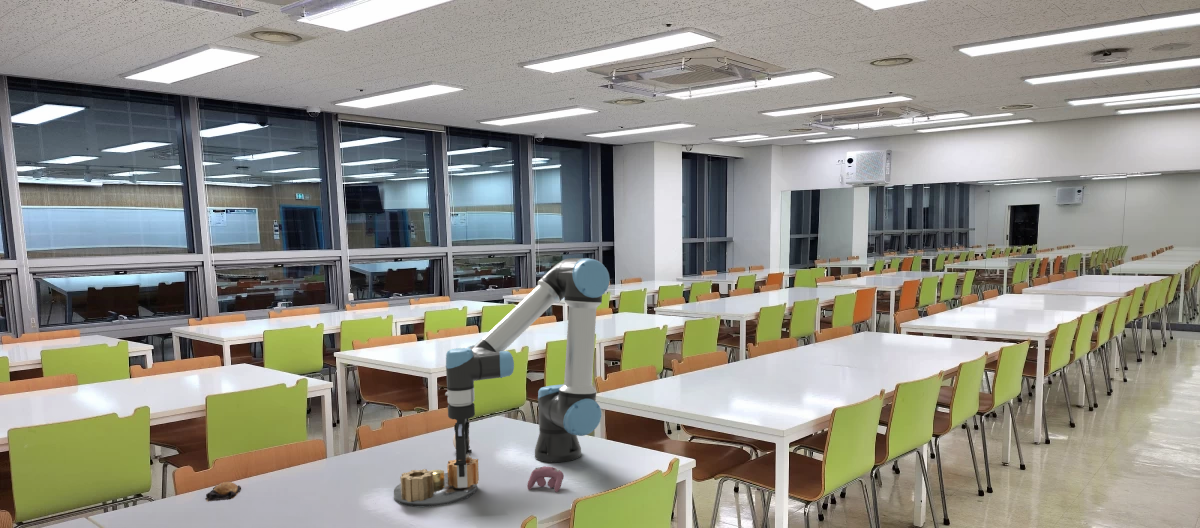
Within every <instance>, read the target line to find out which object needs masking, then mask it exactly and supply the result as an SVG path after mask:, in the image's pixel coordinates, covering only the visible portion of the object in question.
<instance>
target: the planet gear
mask: <svg viewBox="0 0 1200 528" xmlns="http://www.w3.org/2000/svg"><path fill="white" fill-rule="evenodd" d="M454 463H456V458H455V459H453V460H451V459H450V460H448V461H447V464H446V465H447V466H446V467H447V469H446V470H447V473H448V485H449V486H454V488H458V485H457V465H455V466H454ZM466 464H467V483H468V487H470V486H471V485H474V484H477V485H478V484H479V481H480V477H479V459H478V458H472V457H471V456H469V457H467V458H466Z"/></svg>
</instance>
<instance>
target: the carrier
mask: <svg viewBox="0 0 1200 528" xmlns="http://www.w3.org/2000/svg"><path fill="white" fill-rule="evenodd" d="M399 480H400V482H399V484H397V485H396V486H395V487H394V489H393V499H394V501H396V503H399V504H401V505H404V506H410V507H420V508H421V507H422V508H427V507H428V508H429V507H437V506H445V505H450V504H453V503H457V502H460V501H463V500H466V499H467V498H469V497H471V496H472V495H474V494H475V493H476V492H477V489H478V488H477V487H478V486H477V485H478V484H474V485H471V486H470V487H465V488H454V486H449V485H448V472H445V470H443V469H431V470H428V469H425V468H424V469H417V470H416V469H411V470H410V471H407V472H402V473H401V476H400V479H399Z"/></svg>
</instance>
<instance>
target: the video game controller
mask: <svg viewBox="0 0 1200 528" xmlns="http://www.w3.org/2000/svg"><path fill="white" fill-rule="evenodd" d="M564 476H565V475H564V472H562V471H561V470H560V469H558V468H557V467H553V466H541V467H540V466H539V467H535V468H534V470H532V471H531V474H530V476H529V478H528V482H527V484H526V485H527V489H528V490H530V491H531V489H532V488H533V487H534V486H535V484H537V486H538V487H541V488H544V487H545V486H546V484H547V486H548V488H551V489H554V491H555V493H558V492H559V491H560V489H561V487H562V484H563V483H562V482H563V481H564ZM545 478H549V479H548V480H546V479H545ZM546 481H547V482H546ZM532 490H533V489H532Z"/></svg>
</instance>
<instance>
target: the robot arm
mask: <svg viewBox="0 0 1200 528" xmlns="http://www.w3.org/2000/svg"><path fill="white" fill-rule="evenodd" d="M610 281H611V279H610V273H609V271H608V269H607V267H605V265H604V264H603V263H602V262H601V261H599V260H597V259H594V258H588V257H585V258H583V257H582V258H577V257H576V258H575V257H568V258H565V259H563V260H561V261H559V262H558V263H556V264H555V265H554V266H553V267H551V268H550V270H548V271H547V272H546V273H545V274H544V275H543V276H542V277H541V278H540V279H538V281H537V286H536V287H535V288H534V289H533V290H531V292H530V293H528V295H527V296H525V297H524V298H523V300H521V301H520V302H519V303H518V304H517V305H516V306H515V307H514V308H513V309H512V310H511V311H510V312H509V313H507V314H506V315H505V316H504V317H503V318H502V319H501V320H500V321H499V322H498V323H497V324H496V325H495V326H494V327H493V328H492V329H491V330H489V332H488V333H486V334H485V335H484V336H483V337H482V338H481V339H480V340H479V341H478V342H477V343H476V344H475V345H474V344H473V345H469V346H467V347H462V348H461V347H459V348H458V347H457V348H452V349H448V350H447V352H446V354H445V369H446V371H445V373H446V389H447V391H446V392H445V393H444V395H445V396H447V404H448V405H447V416H448V418H449V419H451V420H456V422H455V423H454V427H453V429H454V430H453V431H454V434H455V439H456V449H455V459H456V463H454V466H455V465H457V485H458V488H465V487H468V483H467V464H466V458H467V457H470V454H472V452H473V451H472V449H470V448H471V447H470V443H469V439H470V436H469V435H470V421H469V419H471V418H473V417H474V416H475V415H476V414H475V413H476V412H475V411H476V410H475V403H474V401H475V385H474V382H476V381H483V380H492V379H502V378H506V377H510V376H512V374H513V373H514V369H515V361H514V357H513V355H512V353H511V352H510V351H509V350H507V348H509V347H510V345H512V344H513V343H514V342H515V341H516V340H517V339H518V338H519V337H520V336H521V335H523V334H524V332H526V330H528V329H529V328H530V327H531V326H532V325H533V324H534V322H535V321H537V320H538V319H539V318H540V317H541V316H542V315H543V314H544V313H546V311H547V310H548V309H549V308H550V307H551V306H552V305H553V304H558V303H560V302H561V301H562V300H563V301H564V302H565V303H566V305H567V307H568V316H567V317H568V318H567V330H566V331H567V332H566V349H565V350H566V351H565V367H564V382H563V384H554V385H553V384H552V385H547V386H543V387H540V388H539V390H538V391H537V393H538V394H537V395H538V396H537V402H538V403H537V405H538V426H539V427H538V428H539V429H538V430H539V432H538V433H539V434H538V436H537V437H538V438H537V440H536V444H535V447H534V458H535V459H536V460H538V461H541V462H545V463H565V462H569V461H570V462H571V461H574V460H576V459H578V458H580V457H581V456H582V447H581V445H580V442H579V439H578V438H579V437H582V436H583V437H584V436H587V435H589V434H592V433H593V432H594V431H595V430H596V429H597V427H598V426H599V424H600V422H601V419H602V408H601V407H600V405H599V404H598V402H597V401H596V400H597V389H596V388H595V387H594V386H593V371H594V370H593V368H594V356H595V355H594V354H595V338H596V337H595V336H596V320H597V308H598V307H599V306H600V305H601V304H603V302H602V301H603V300H602V299H603V296H604V294H605V292H607V291H608V289H609V286H610Z"/></svg>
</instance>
